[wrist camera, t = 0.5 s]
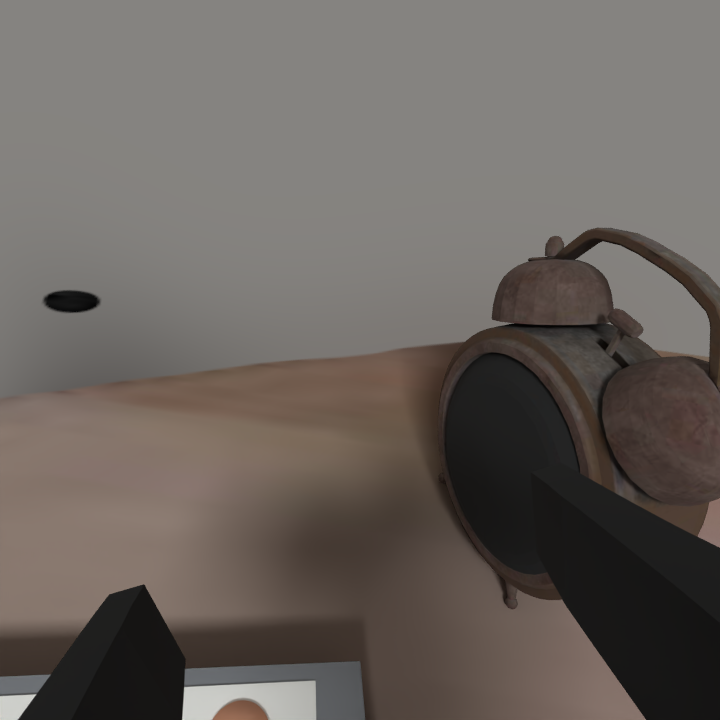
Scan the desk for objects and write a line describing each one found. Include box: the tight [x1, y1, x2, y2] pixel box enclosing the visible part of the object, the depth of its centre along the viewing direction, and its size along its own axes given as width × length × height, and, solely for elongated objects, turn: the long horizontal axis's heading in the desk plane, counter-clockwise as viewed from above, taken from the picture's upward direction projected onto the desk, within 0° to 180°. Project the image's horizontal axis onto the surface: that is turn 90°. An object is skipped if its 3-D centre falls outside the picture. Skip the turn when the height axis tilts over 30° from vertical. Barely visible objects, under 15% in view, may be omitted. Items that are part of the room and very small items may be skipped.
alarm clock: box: [438, 228, 720, 609], centre depth 25 cm, size 14×7×20 cm, turn 19°
